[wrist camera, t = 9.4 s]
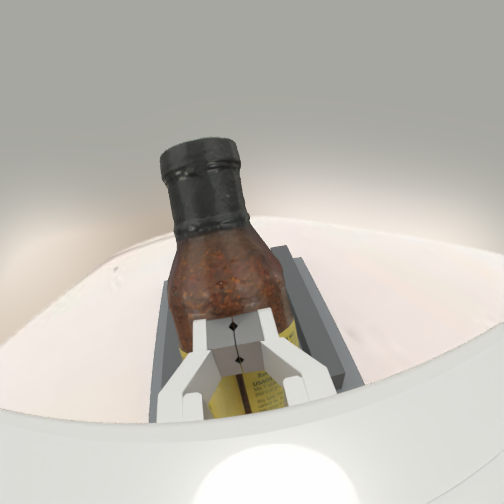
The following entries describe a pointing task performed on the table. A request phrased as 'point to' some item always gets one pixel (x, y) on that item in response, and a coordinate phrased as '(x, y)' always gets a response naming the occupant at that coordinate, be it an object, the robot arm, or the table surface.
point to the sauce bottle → (221, 263)
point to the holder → (306, 321)
